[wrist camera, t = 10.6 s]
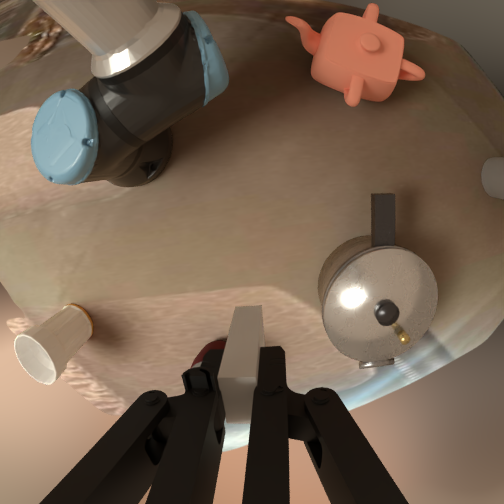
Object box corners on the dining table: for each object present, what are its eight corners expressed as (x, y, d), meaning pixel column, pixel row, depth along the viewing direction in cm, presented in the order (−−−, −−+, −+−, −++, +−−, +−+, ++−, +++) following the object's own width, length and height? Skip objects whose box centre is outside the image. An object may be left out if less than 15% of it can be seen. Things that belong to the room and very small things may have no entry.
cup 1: (58, 292, 60) (10, 325, 43) (98, 309, 60) (53, 349, 43) (59, 332, 63) (18, 369, 46) (97, 350, 63) (59, 394, 46)
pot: (311, 191, 51) (320, 196, 41) (415, 189, 49) (442, 195, 39) (314, 339, 58) (320, 369, 48) (405, 330, 56) (424, 356, 46)
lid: (323, 250, 43) (326, 256, 40) (440, 244, 41) (450, 249, 38) (321, 369, 48) (323, 381, 45) (424, 356, 46) (430, 366, 43)
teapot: (406, 89, 44) (440, 70, 32) (336, 125, 48) (356, 112, 35) (353, 16, 41) (372, -19, 29) (282, 48, 44) (284, 14, 32)
